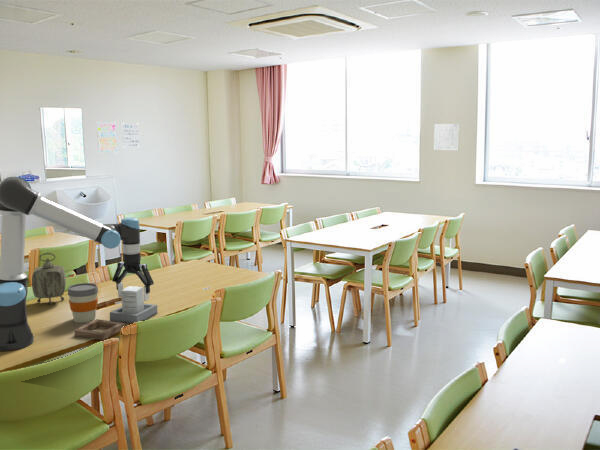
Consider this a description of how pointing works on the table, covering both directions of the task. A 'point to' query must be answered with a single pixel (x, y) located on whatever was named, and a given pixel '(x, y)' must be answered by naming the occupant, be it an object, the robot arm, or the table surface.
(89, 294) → the reusable coffee cup
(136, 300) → the supplement box
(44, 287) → the tabletop clock
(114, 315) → the grey tray
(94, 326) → the walnut collar
